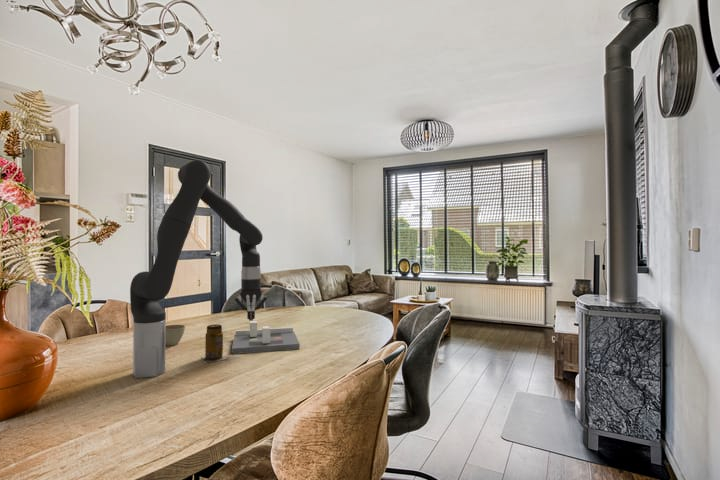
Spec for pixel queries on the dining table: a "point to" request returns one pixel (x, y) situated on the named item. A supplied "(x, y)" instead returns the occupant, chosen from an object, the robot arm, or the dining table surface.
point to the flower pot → (174, 334)
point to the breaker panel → (278, 341)
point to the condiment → (214, 344)
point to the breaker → (253, 328)
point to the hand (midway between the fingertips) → (251, 320)
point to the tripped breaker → (266, 334)
